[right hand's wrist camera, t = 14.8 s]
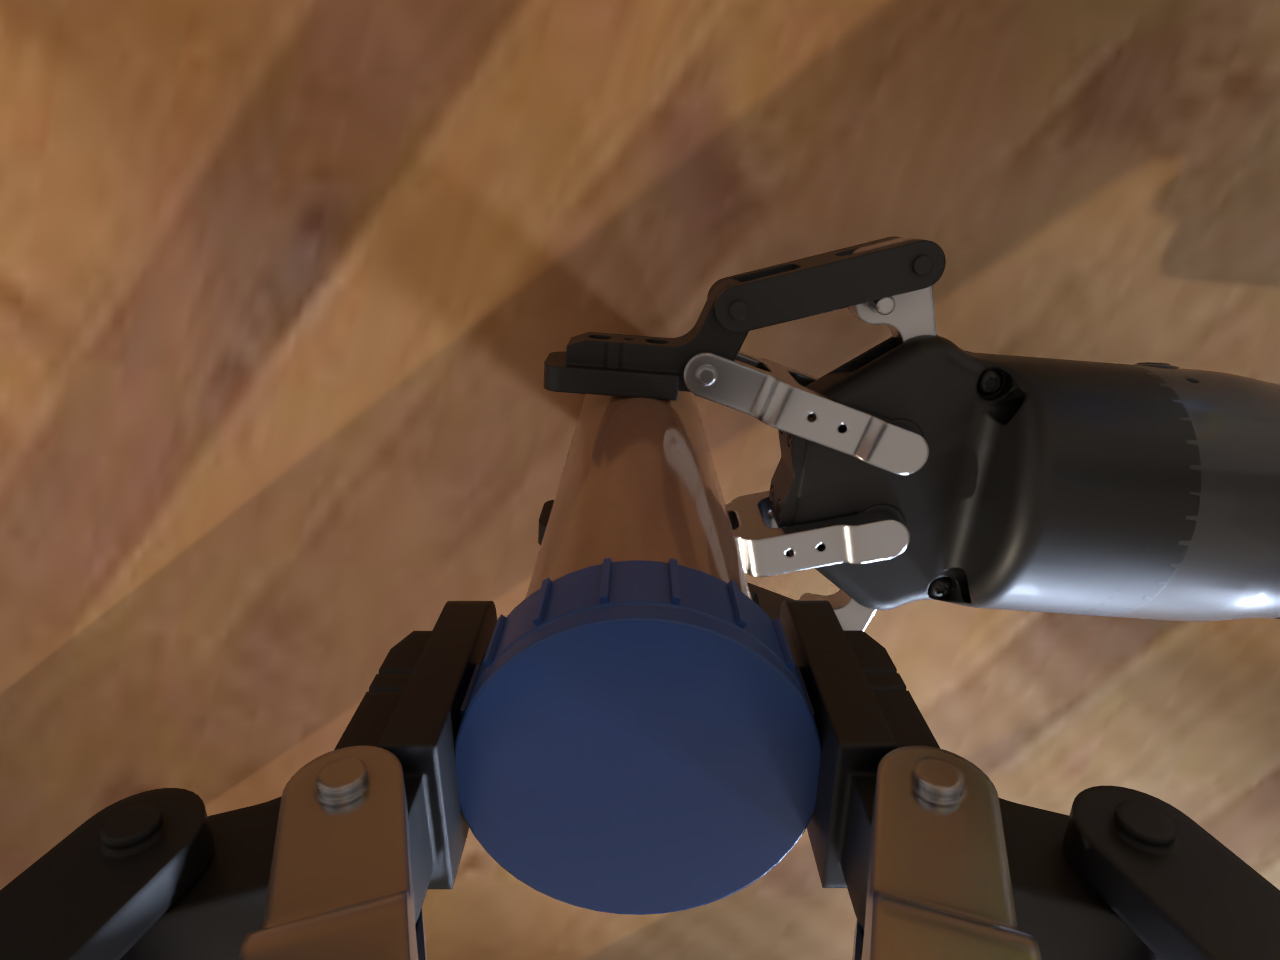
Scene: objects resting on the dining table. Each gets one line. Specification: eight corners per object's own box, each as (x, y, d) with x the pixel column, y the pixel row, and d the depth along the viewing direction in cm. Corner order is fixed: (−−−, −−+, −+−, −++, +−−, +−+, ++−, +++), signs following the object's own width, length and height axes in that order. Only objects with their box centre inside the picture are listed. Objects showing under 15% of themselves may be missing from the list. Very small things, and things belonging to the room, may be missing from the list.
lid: (405, 654, 11) (366, 726, 9) (700, 490, 10) (711, 541, 8) (586, 871, 12) (579, 965, 11) (858, 746, 11) (891, 829, 10)
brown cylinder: (671, 331, 27) (732, 574, 9) (708, 432, 28) (823, 814, 11) (568, 371, 27) (437, 674, 10) (609, 468, 29) (559, 890, 11)
